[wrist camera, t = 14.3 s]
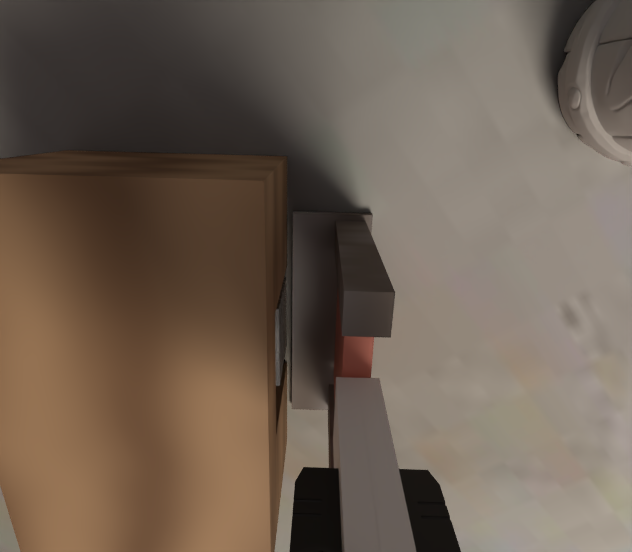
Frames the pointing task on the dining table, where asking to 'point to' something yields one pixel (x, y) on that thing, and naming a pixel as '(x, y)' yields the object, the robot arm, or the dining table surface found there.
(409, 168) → the dining table surface
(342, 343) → the block
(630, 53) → the mug
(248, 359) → the block
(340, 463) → the robot arm
